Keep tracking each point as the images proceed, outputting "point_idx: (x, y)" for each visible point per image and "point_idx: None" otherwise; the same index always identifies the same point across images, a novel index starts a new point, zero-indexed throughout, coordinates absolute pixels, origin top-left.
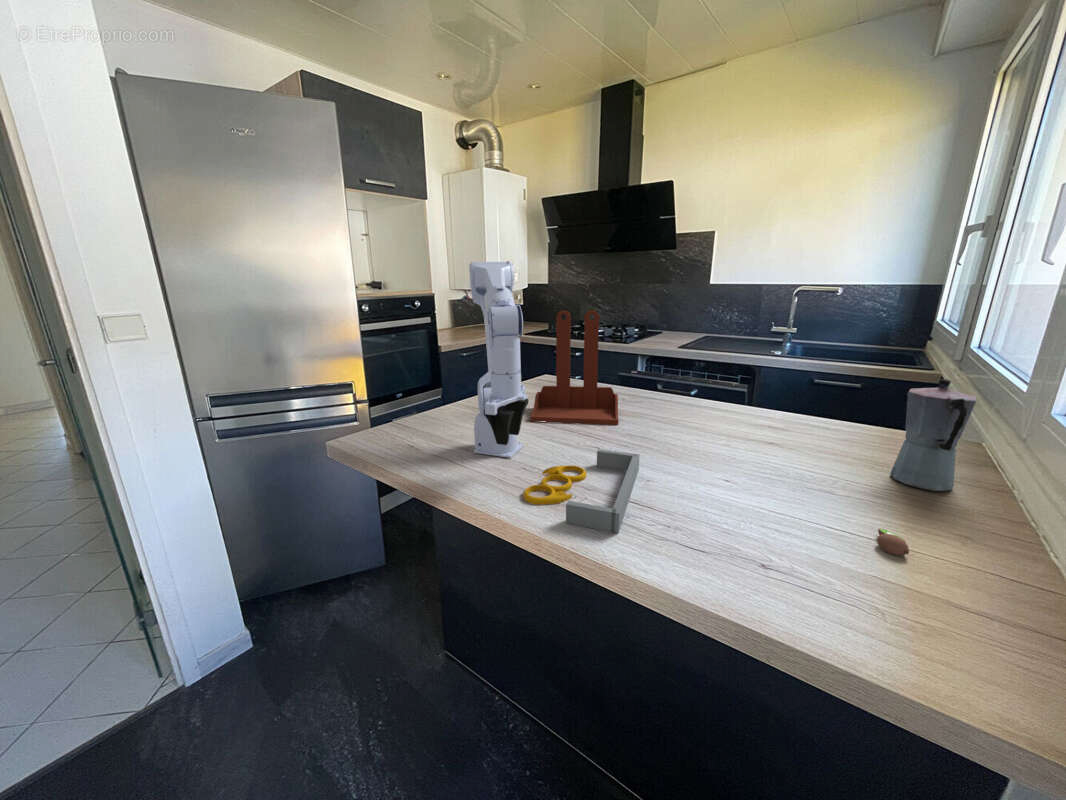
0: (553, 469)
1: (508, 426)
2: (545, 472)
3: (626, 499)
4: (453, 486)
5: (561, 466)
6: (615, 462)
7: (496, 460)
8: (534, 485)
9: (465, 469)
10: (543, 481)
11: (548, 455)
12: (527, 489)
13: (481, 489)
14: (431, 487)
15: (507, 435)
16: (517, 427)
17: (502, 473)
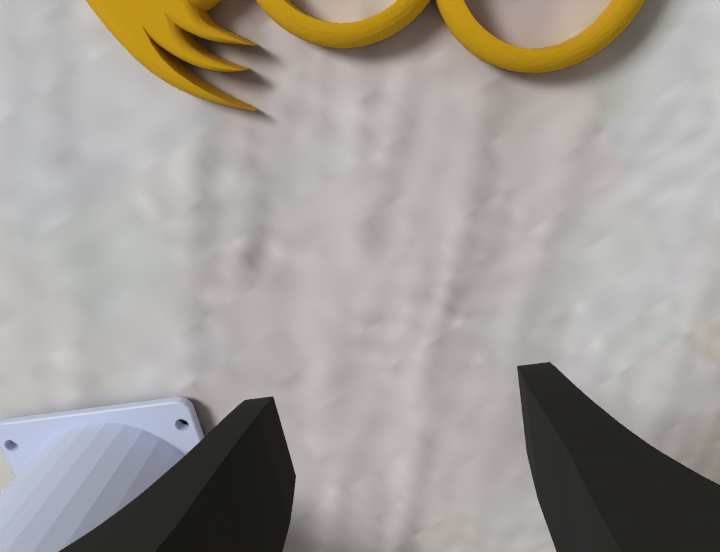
0: (193, 49)
1: (649, 468)
2: (234, 99)
3: None
4: None
5: (123, 14)
6: None
7: None
8: (487, 34)
9: (434, 516)
10: (400, 9)
11: (2, 222)
12: (563, 45)
13: (604, 327)
14: None
15: (593, 405)
16: (249, 448)
17: (376, 333)
